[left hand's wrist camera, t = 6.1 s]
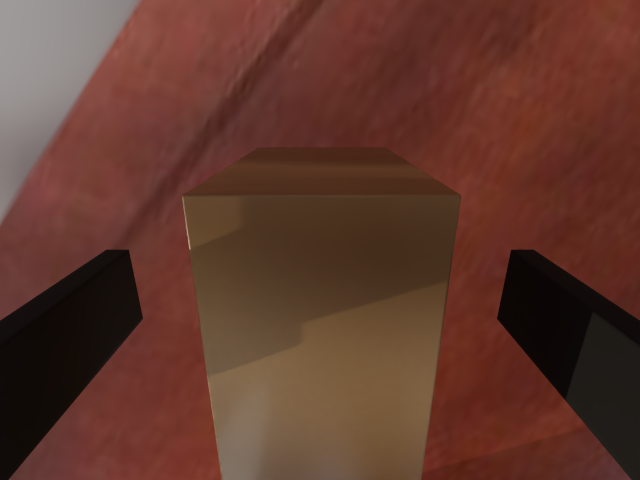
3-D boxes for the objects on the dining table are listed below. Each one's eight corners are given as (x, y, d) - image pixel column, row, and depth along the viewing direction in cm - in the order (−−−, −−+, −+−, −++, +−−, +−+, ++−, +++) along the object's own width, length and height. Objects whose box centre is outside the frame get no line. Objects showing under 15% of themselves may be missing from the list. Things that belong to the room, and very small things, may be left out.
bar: (257, 147, 14) (180, 194, 6) (385, 147, 14) (462, 194, 6) (281, 530, 22) (259, 752, 14) (362, 530, 22) (383, 753, 14)
